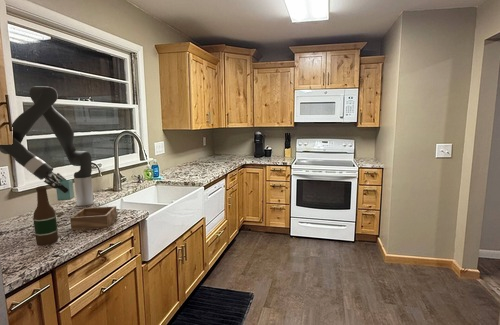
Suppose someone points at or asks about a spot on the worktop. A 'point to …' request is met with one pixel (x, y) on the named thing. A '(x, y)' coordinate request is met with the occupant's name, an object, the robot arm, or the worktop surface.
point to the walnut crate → (93, 218)
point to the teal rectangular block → (69, 193)
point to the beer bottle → (44, 219)
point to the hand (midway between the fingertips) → (69, 190)
